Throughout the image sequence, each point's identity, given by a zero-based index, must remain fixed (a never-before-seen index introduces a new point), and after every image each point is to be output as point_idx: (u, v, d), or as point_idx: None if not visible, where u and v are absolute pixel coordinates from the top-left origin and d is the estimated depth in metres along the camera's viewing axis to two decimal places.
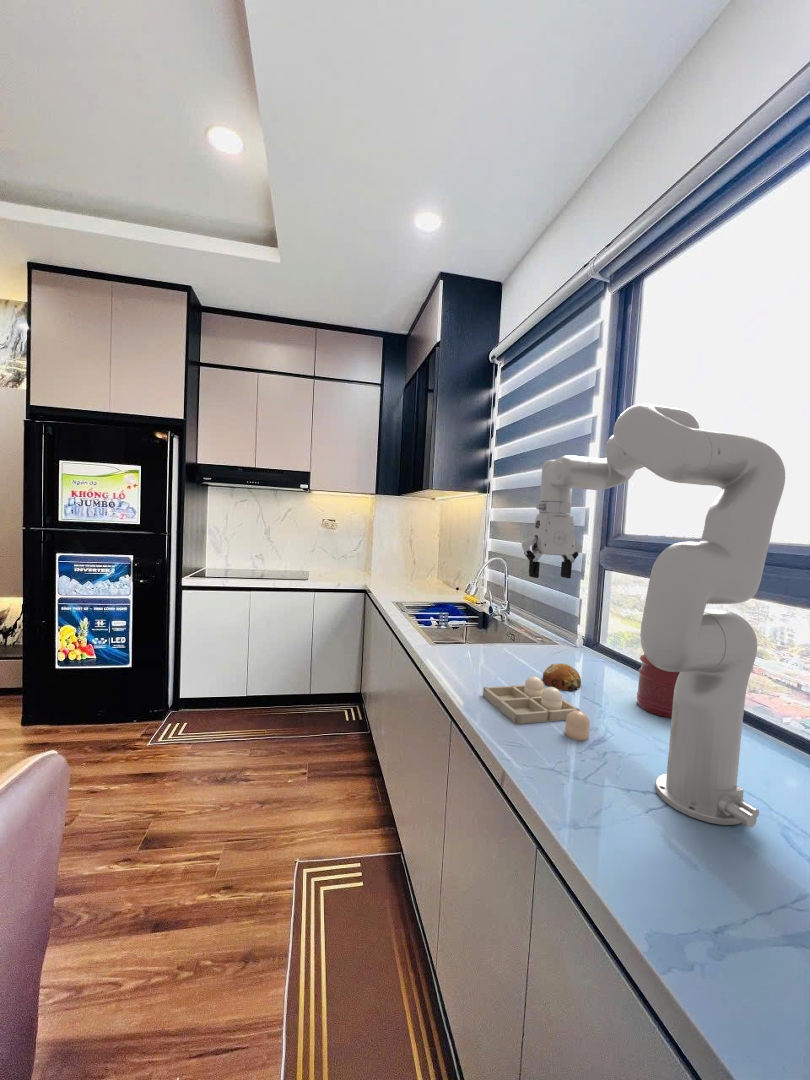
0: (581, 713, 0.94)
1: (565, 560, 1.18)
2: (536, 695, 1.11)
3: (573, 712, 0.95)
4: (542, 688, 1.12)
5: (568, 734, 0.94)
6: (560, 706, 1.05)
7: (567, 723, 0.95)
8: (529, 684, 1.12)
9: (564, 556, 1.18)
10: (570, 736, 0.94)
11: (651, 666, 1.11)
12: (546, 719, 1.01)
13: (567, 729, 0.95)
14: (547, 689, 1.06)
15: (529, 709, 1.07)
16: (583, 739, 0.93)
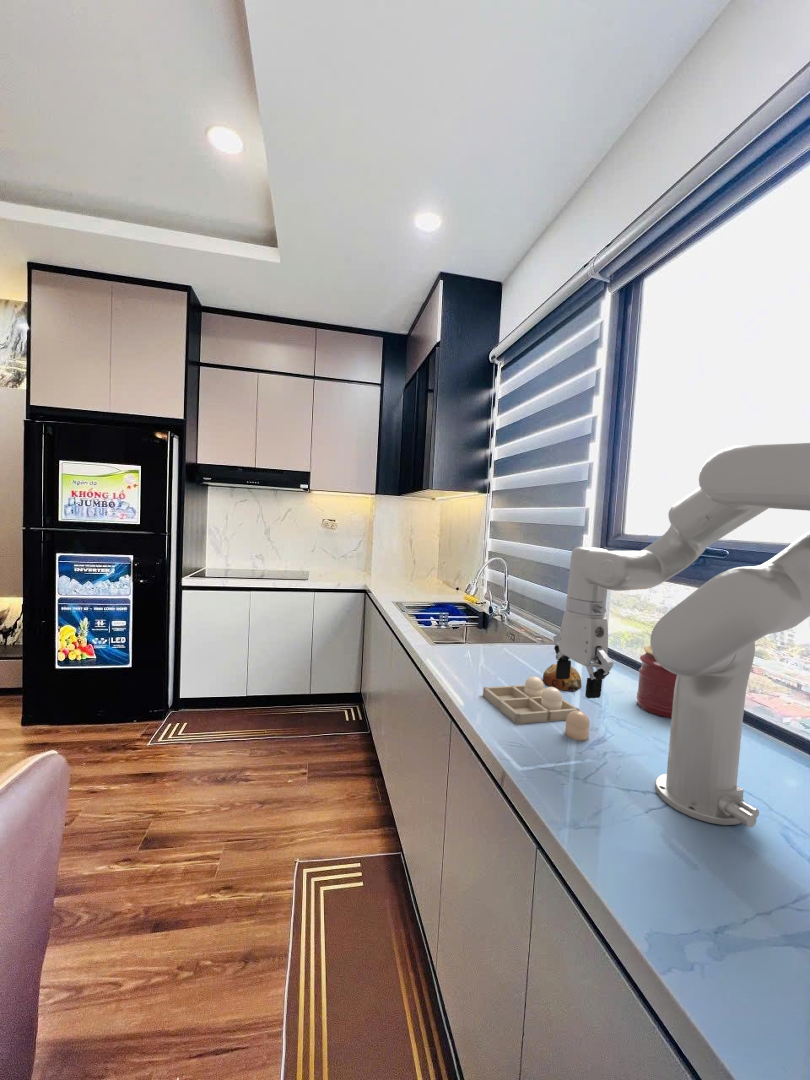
0: (581, 713, 0.95)
1: (563, 660, 1.00)
2: (536, 695, 1.11)
3: (573, 712, 0.95)
4: (542, 688, 1.12)
5: (568, 734, 0.94)
6: (560, 706, 1.05)
7: (567, 723, 0.95)
8: (529, 684, 1.12)
9: None
10: (570, 736, 0.94)
11: (651, 666, 1.11)
12: (546, 719, 1.01)
13: (567, 729, 0.95)
14: (547, 689, 1.06)
15: (529, 709, 1.07)
16: (583, 739, 0.93)
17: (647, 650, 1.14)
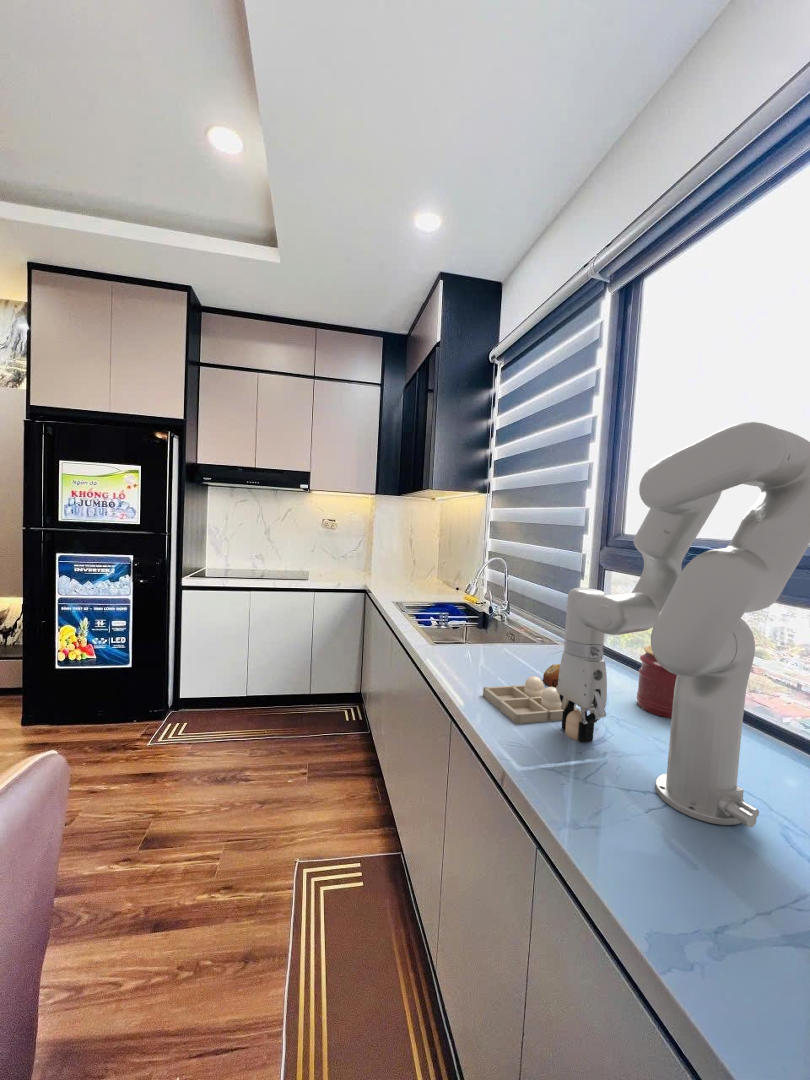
0: None
1: (569, 710, 0.97)
2: (536, 695, 1.11)
3: (573, 712, 0.95)
4: (542, 688, 1.12)
5: (568, 734, 0.94)
6: (560, 706, 1.05)
7: (567, 723, 0.95)
8: (529, 684, 1.12)
9: None
10: (570, 736, 0.94)
11: (651, 666, 1.11)
12: (546, 719, 1.01)
13: (567, 729, 0.95)
14: (547, 689, 1.06)
15: (529, 709, 1.07)
16: None
17: (647, 650, 1.14)
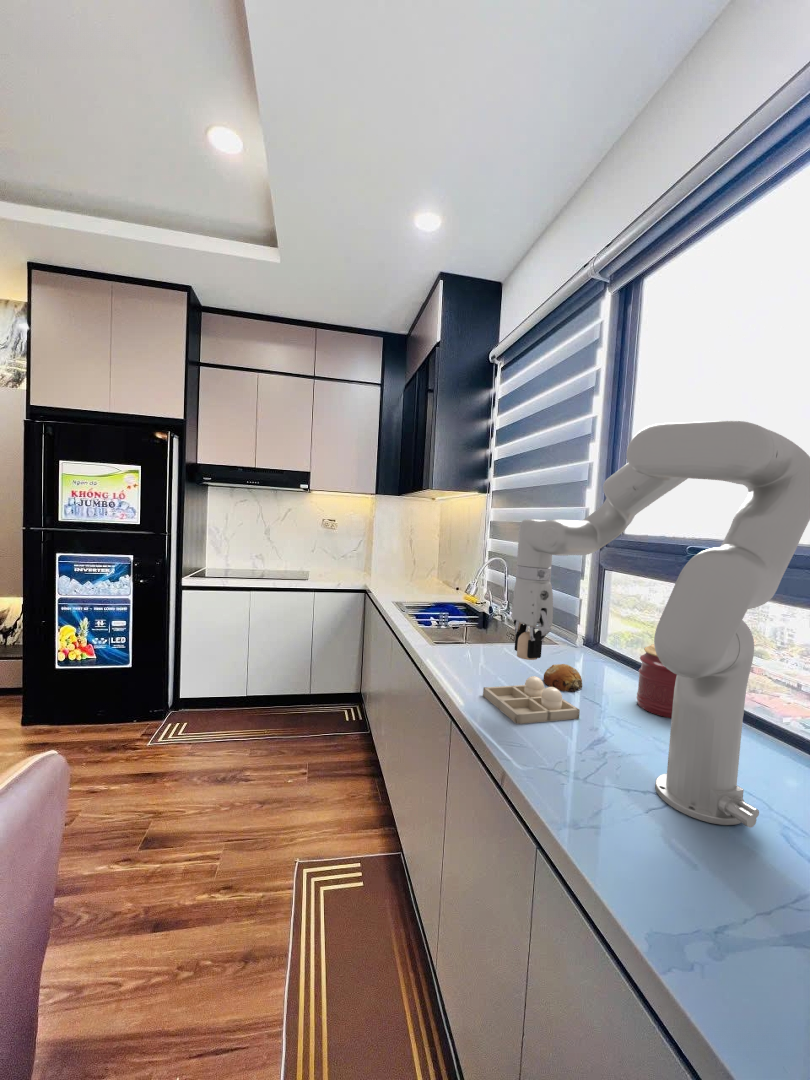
0: None
1: (521, 632, 1.06)
2: (536, 695, 1.11)
3: (524, 632, 1.04)
4: (542, 688, 1.12)
5: (519, 652, 1.03)
6: (560, 706, 1.05)
7: (518, 642, 1.04)
8: (529, 684, 1.12)
9: None
10: (520, 654, 1.03)
11: (651, 666, 1.11)
12: (546, 719, 1.01)
13: (518, 648, 1.03)
14: (547, 689, 1.06)
15: (529, 709, 1.07)
16: None
17: (647, 650, 1.14)
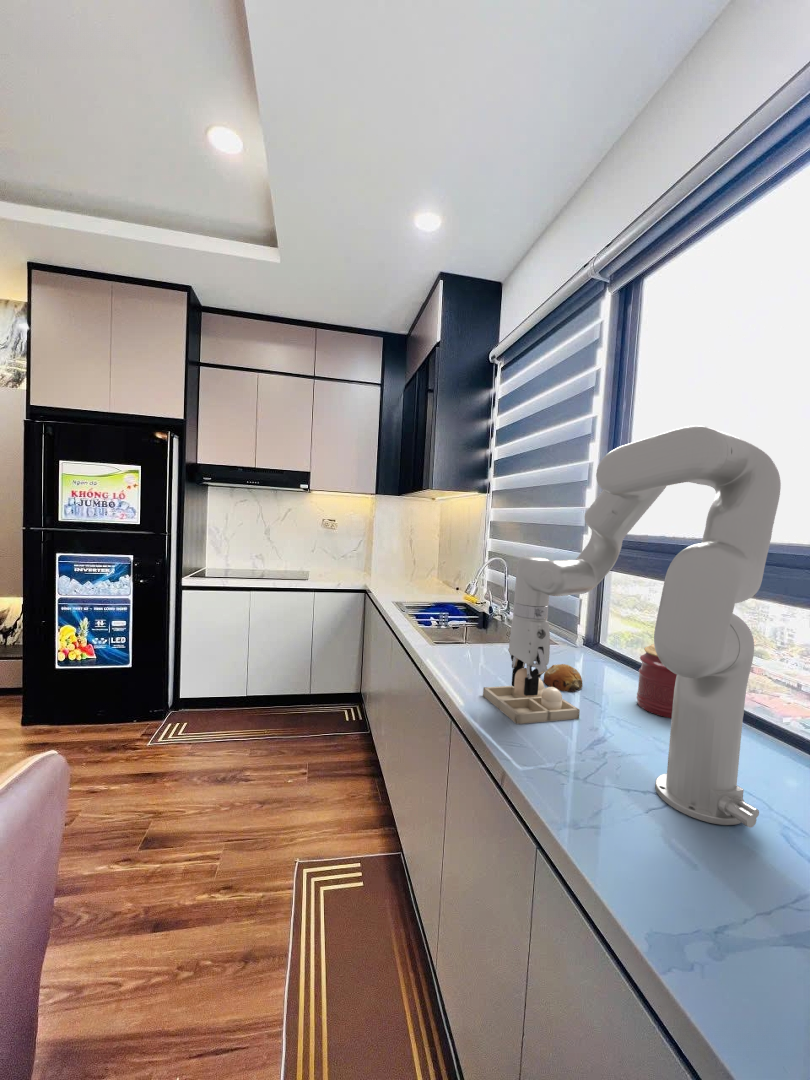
0: None
1: (518, 668, 1.07)
2: (536, 695, 1.11)
3: (521, 669, 1.04)
4: (542, 688, 1.12)
5: (516, 689, 1.04)
6: (560, 706, 1.05)
7: (515, 679, 1.04)
8: None
9: None
10: (517, 690, 1.03)
11: (651, 666, 1.11)
12: (546, 719, 1.01)
13: (515, 684, 1.04)
14: (547, 689, 1.06)
15: (529, 709, 1.07)
16: None
17: (647, 650, 1.14)
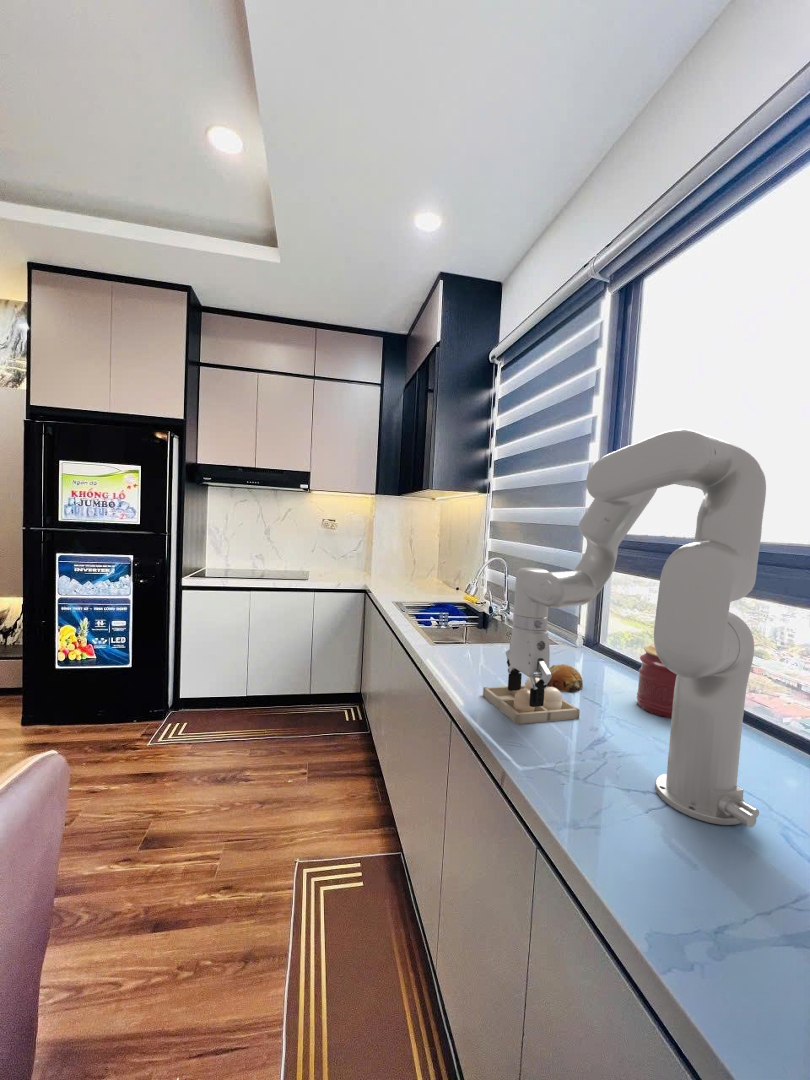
0: (527, 691, 1.04)
1: (514, 672, 1.08)
2: None
3: (520, 690, 1.04)
4: None
5: None
6: (560, 706, 1.05)
7: (515, 700, 1.04)
8: (529, 684, 1.12)
9: None
10: None
11: (651, 666, 1.11)
12: (546, 719, 1.01)
13: (515, 706, 1.04)
14: (547, 689, 1.06)
15: None
16: None
17: (647, 650, 1.14)
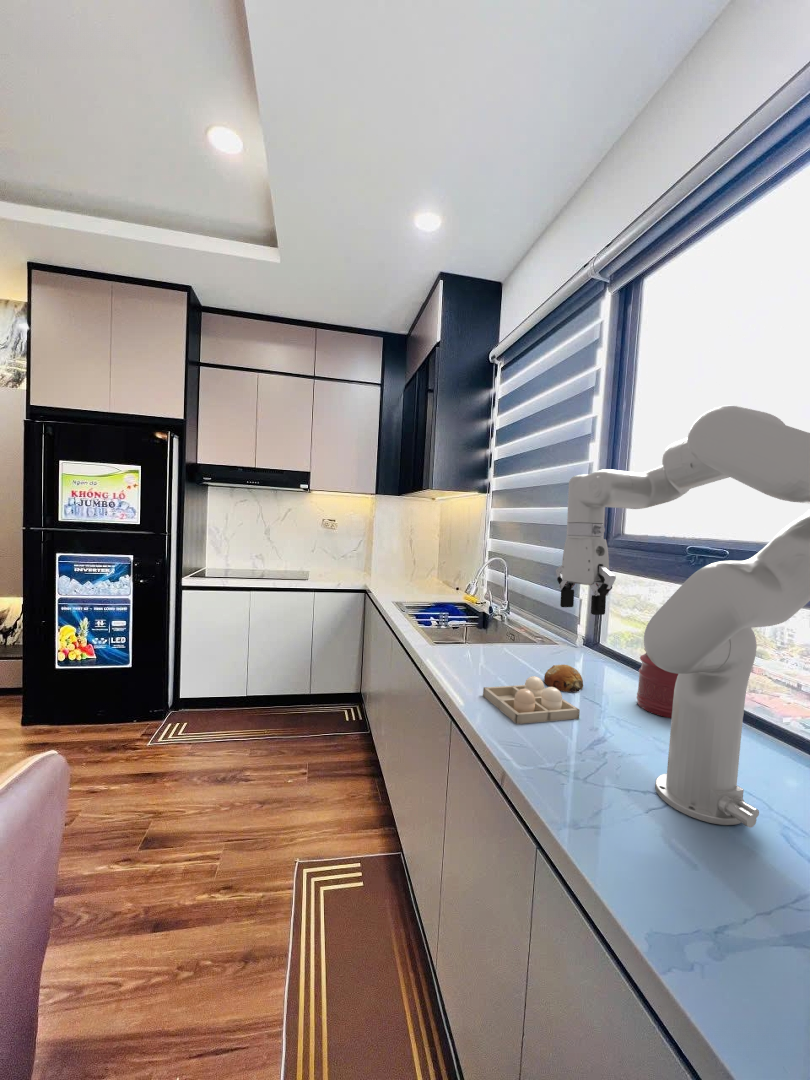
0: (527, 691, 1.04)
1: (567, 588, 1.04)
2: (536, 695, 1.11)
3: (520, 690, 1.04)
4: (542, 688, 1.12)
5: None
6: (560, 706, 1.05)
7: (515, 700, 1.04)
8: (529, 684, 1.12)
9: None
10: None
11: (651, 666, 1.11)
12: (546, 719, 1.01)
13: (515, 706, 1.04)
14: (547, 689, 1.06)
15: None
16: None
17: None
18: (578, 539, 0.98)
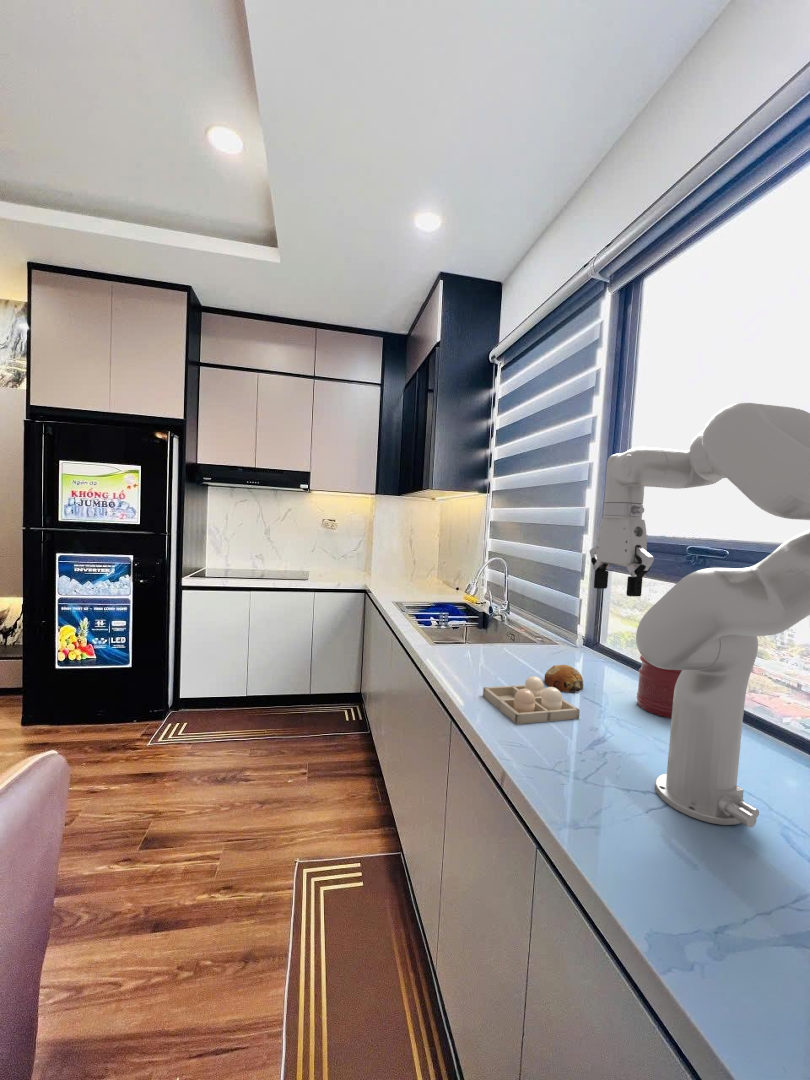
0: (527, 691, 1.04)
1: (601, 569, 1.03)
2: (536, 695, 1.11)
3: (520, 690, 1.04)
4: (542, 688, 1.12)
5: None
6: (560, 706, 1.05)
7: (515, 700, 1.04)
8: (529, 684, 1.12)
9: None
10: None
11: (651, 666, 1.11)
12: (546, 719, 1.01)
13: (515, 706, 1.04)
14: (547, 689, 1.06)
15: None
16: None
17: None
18: (615, 519, 0.96)
